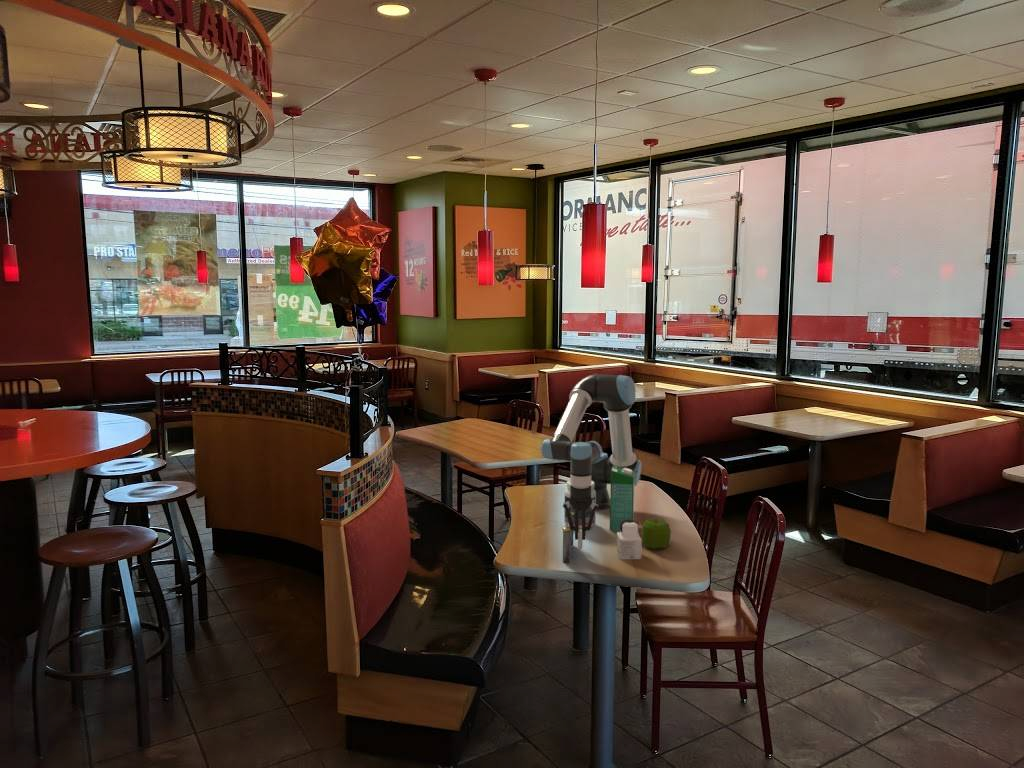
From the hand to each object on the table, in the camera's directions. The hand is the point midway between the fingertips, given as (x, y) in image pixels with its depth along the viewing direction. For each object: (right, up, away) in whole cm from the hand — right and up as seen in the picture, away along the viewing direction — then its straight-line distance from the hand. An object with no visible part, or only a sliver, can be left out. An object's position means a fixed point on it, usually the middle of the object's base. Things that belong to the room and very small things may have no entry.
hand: (580, 547), depth 264 cm
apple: (+29, -2, +9) cm, 31 cm away
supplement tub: (+3, +2, +33) cm, 33 cm away
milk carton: (+20, +1, +30) cm, 36 cm away
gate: (-4, -1, +2) cm, 5 cm away
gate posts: (-4, -3, +3) cm, 6 cm away
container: (+18, -3, 0) cm, 18 cm away
